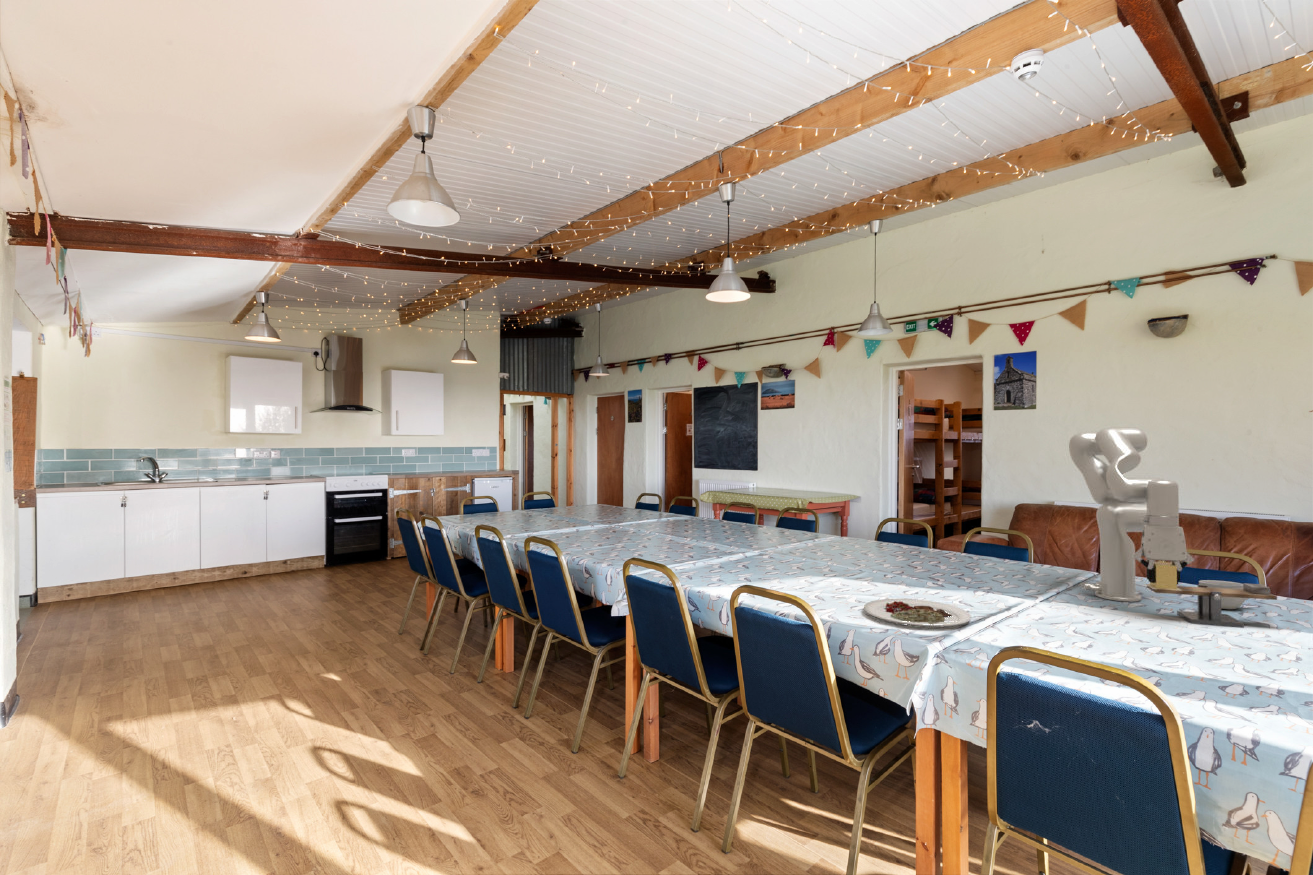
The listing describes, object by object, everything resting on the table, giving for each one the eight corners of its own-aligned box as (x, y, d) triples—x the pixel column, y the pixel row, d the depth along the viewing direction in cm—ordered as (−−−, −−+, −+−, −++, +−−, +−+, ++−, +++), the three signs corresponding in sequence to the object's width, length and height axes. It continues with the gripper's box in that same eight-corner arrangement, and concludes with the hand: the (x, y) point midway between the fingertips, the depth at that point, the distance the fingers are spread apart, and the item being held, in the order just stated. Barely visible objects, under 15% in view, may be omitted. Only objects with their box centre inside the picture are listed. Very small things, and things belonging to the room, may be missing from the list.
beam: (1153, 592, 190) (1153, 582, 190) (1145, 587, 196) (1144, 577, 196) (1276, 599, 180) (1276, 588, 180) (1263, 594, 186) (1263, 583, 186)
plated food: (958, 638, 173) (958, 625, 173) (849, 619, 192) (849, 608, 192) (980, 614, 197) (980, 603, 197) (882, 599, 215) (881, 589, 215)
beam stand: (1192, 623, 185) (1191, 590, 185) (1176, 614, 195) (1176, 582, 195) (1244, 627, 181) (1244, 594, 181) (1225, 617, 191) (1225, 585, 191)
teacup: (1204, 609, 201) (1204, 583, 201) (1194, 601, 210) (1194, 577, 210) (1263, 614, 194) (1263, 588, 194) (1250, 606, 204) (1250, 581, 204)
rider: (1156, 588, 190) (1156, 564, 190) (1150, 584, 195) (1149, 561, 195) (1176, 589, 188) (1176, 565, 188) (1170, 585, 193) (1169, 562, 193)
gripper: (1132, 521, 191) (1133, 583, 191) (1203, 524, 185) (1204, 587, 185) (1124, 519, 198) (1125, 578, 198) (1192, 521, 192) (1193, 582, 192)
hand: (1163, 582), depth 192 cm, fingers closed on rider, 5 cm apart
